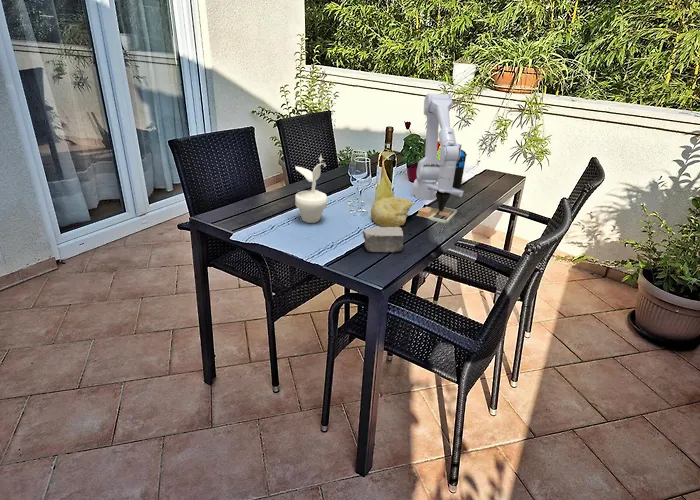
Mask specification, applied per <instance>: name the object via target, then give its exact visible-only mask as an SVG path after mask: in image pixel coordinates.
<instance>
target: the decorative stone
mask: <svg viewBox="0 0 700 500" xmlns="http://www.w3.org/2000/svg"><path fill="white" fill-rule="evenodd" d="M362 235H363V236H362V237H363V239H364V247H365V250H366V251H367V252H369V253H378V254H379V253H381V254H382V253H383V254H385V253H386V254H387V253H391V254H392V253H399V252H402V251H403V249H404V231H403V229H402V227H401V226H400V227H380V226H379V227H372V228H371V227H370V228H366V229H363V230H362Z"/></svg>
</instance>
